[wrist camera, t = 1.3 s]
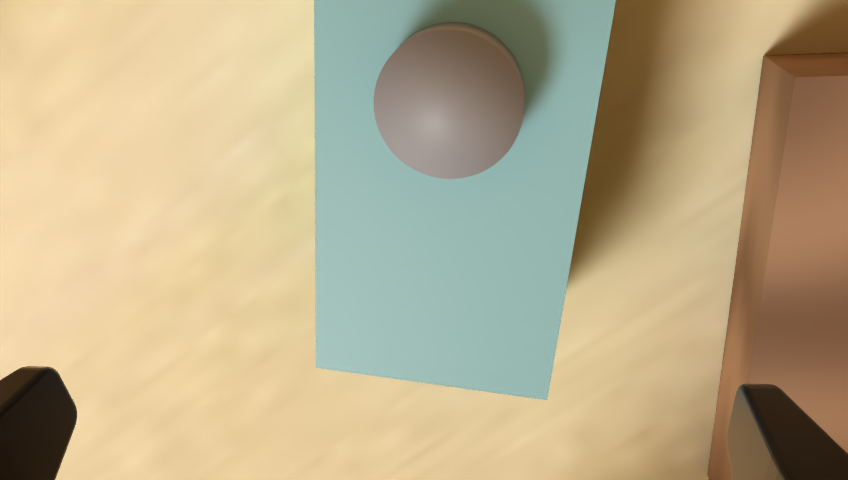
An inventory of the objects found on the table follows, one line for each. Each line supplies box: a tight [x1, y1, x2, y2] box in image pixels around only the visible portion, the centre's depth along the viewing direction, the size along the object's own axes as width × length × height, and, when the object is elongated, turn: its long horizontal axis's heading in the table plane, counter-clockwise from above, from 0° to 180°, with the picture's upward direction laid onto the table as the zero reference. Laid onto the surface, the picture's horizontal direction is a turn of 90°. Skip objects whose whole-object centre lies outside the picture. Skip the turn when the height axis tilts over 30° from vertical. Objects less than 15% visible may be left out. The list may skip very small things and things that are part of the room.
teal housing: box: [314, 0, 616, 400], centre depth 18 cm, size 10×6×6 cm, turn 176°
